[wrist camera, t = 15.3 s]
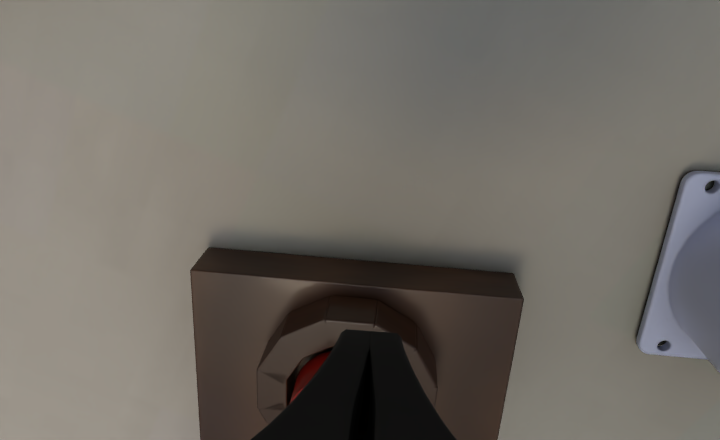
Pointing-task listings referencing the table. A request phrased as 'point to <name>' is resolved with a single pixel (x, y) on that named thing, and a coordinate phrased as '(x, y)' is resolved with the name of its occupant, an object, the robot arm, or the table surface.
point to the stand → (331, 317)
